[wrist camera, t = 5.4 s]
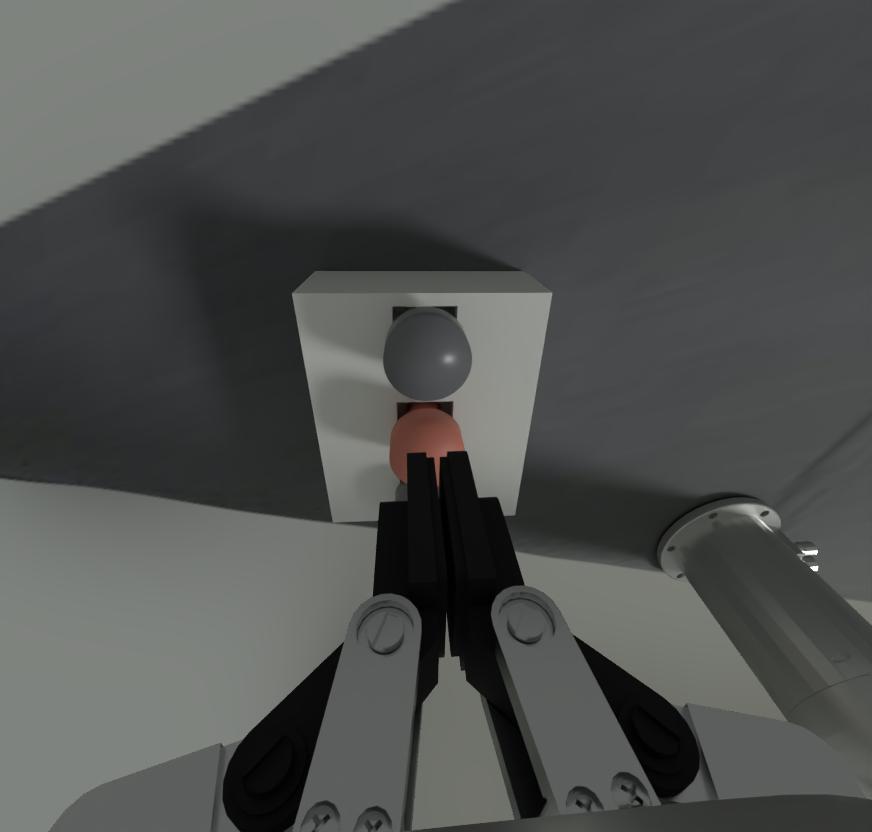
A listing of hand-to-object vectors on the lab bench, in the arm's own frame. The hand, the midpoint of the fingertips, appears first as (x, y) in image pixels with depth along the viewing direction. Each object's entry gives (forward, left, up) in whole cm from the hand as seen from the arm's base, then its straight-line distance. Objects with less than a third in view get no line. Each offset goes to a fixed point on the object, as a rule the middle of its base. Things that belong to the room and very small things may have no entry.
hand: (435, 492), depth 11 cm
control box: (0, +6, -19) cm, 20 cm away
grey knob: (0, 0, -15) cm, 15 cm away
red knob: (0, +6, -15) cm, 16 cm away
